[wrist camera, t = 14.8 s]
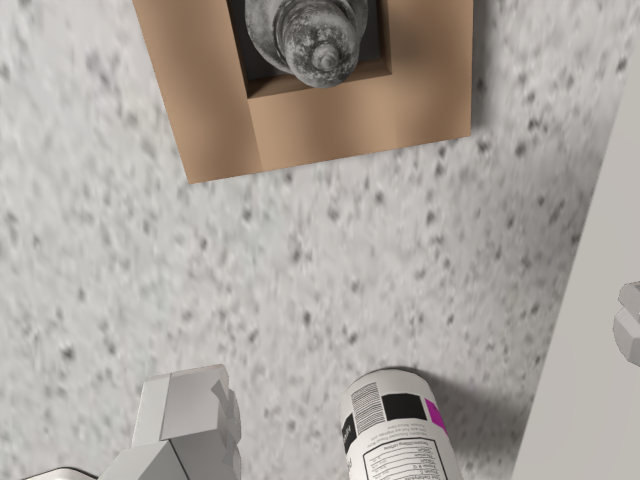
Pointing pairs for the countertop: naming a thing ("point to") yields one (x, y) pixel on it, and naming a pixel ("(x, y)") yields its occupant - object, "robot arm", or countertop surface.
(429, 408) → the supplement can
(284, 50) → the grey tall rounded piece
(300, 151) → the holder
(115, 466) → the robot arm
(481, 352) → the countertop surface
